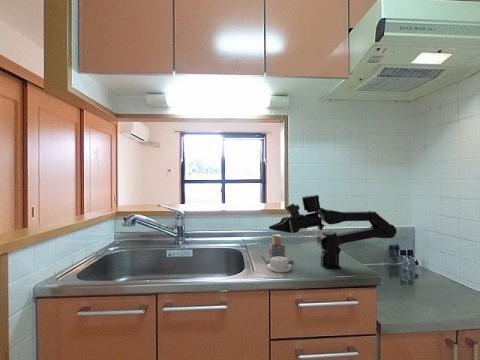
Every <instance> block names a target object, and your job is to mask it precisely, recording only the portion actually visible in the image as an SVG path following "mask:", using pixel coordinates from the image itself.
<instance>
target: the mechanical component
mask: <svg viewBox="0 0 480 360" xmlns="http://www.w3.org/2000/svg"><path fill="white" fill-rule="evenodd" d="M266 269H267V270H269V271H270V272H276V273H285V272H290V271H292V265H291V263H288V258H286V257H280V256H278V257H277V256H276V257H272V258H270V263H269V264H266Z"/></svg>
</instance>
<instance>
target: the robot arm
mask: <svg viewBox="0 0 480 360" xmlns="http://www.w3.org/2000/svg"><path fill="white" fill-rule="evenodd" d="M301 198H302V204H303V209H304V211H305V212H306V213H307V214H302V213H301V214H300V211H299V210H300V206H299V204H295V203H293V202H292V203H289V204H288V205H287V206H285V210H286V211H287V212H288V214H289V215H290V216H289V217H288V216H285V217H284V216H283V217H282V218H281V220H280V221H279V222H277V223H274V224H272V225H269V226H268V229H269V230H273V231H277V232H283V233H288V234H295V233H298V232H300V230H306V229H309V228H314V227H315V228H316V227H317V229H318V230H319V231H321V233H320V234H318V235H317V237H316V243H317V244H318V246H320V248H321V254H320V265H321V266H322V267H324V269H342V266H340V254H341V251H342V249H341V248H340V246H341V245H344V244H348V243H354V242H358V241H364V240H369V239H374V238H377V239H393V238H395V237H396V235H397V228H396V227H395V225H393V224H391V223H389V222H388V221H387V220H386V219H385V218H383V217H382V216H380V215H379V213H378V212H376V211H372V210H368V211H337V210H334V209H327V208H326V209H325V208H323V207H321V204H320V196H319V195H318V194H313V195H305V196H302V197H301ZM343 222H369V224H370V227H367V228H362V229H361V228H360V229H355V230H351V231H345V232H341V233H337V232H336V231H335V230H334V231H333V230H328V231H322V230H323V228H324V227H325V224H327V225H330V226H331V225H337V224H341V223H343ZM323 223H325V224H323Z"/></svg>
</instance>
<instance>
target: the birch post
mask: <svg viewBox="0 0 480 360" xmlns="http://www.w3.org/2000/svg"><path fill="white" fill-rule="evenodd" d="M282 239H283V238H282V235H281V234H272V235H271V243H272V245H273V246H277V245H282V244H283V242H282Z"/></svg>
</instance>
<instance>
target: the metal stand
mask: <svg viewBox="0 0 480 360" xmlns="http://www.w3.org/2000/svg"><path fill="white" fill-rule="evenodd" d="M276 256H277V257H278V256H280V257H286V258H288V264H294V259H292V257H290V256H289V255H288V254H287V253H286V246H285V244H283V243H282V245H277V246H273V245H272V242H269V243H268V253H267V254H265V253H264V254H263V253H262V254H261V258H262V259H263V261H264V262H265V264H266V265H268V264H269V263H270V258H272V257H276Z"/></svg>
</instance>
